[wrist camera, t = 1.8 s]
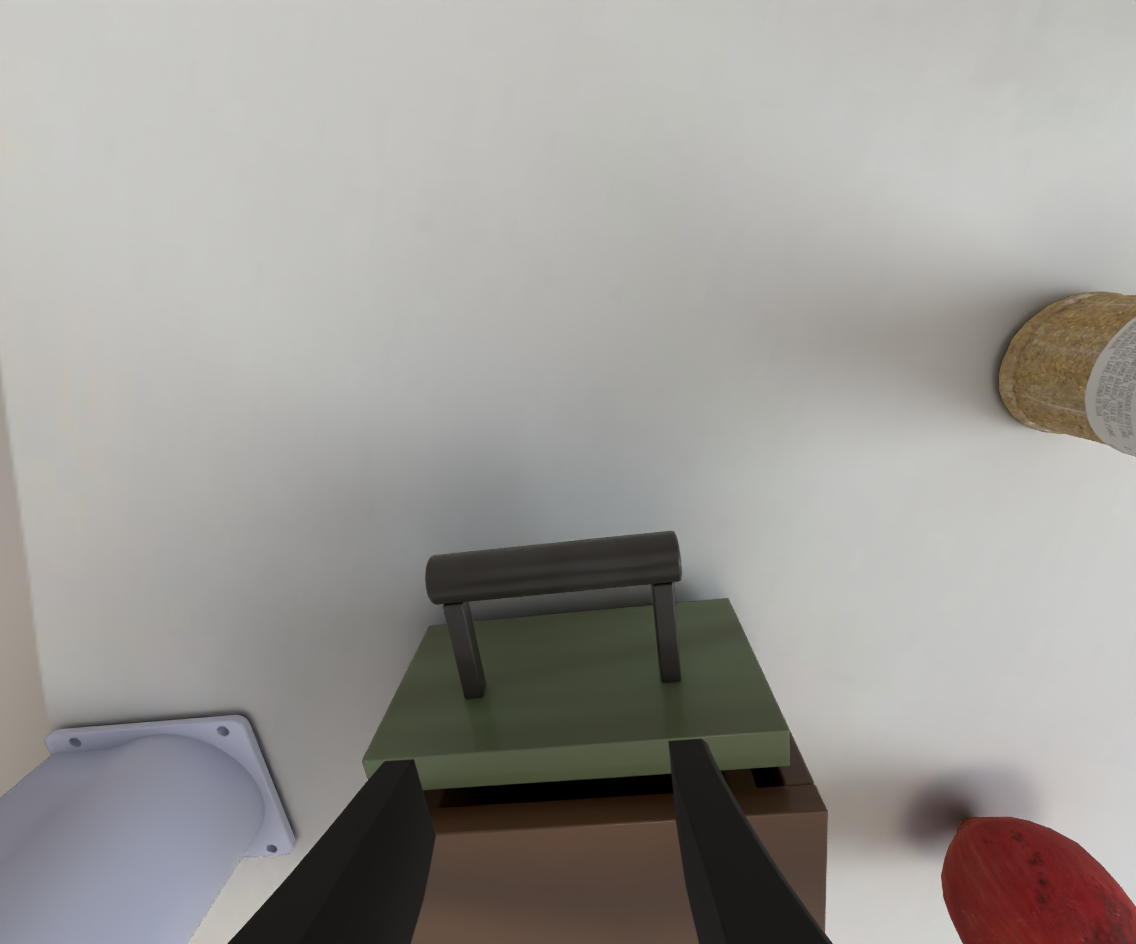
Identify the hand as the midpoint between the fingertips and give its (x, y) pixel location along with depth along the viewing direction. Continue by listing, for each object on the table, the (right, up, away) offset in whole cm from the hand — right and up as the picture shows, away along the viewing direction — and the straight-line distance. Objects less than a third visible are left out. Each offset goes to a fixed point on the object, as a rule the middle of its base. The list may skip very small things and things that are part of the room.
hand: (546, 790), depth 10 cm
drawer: (+1, -3, +11) cm, 12 cm away
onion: (+18, -9, +13) cm, 24 cm away
